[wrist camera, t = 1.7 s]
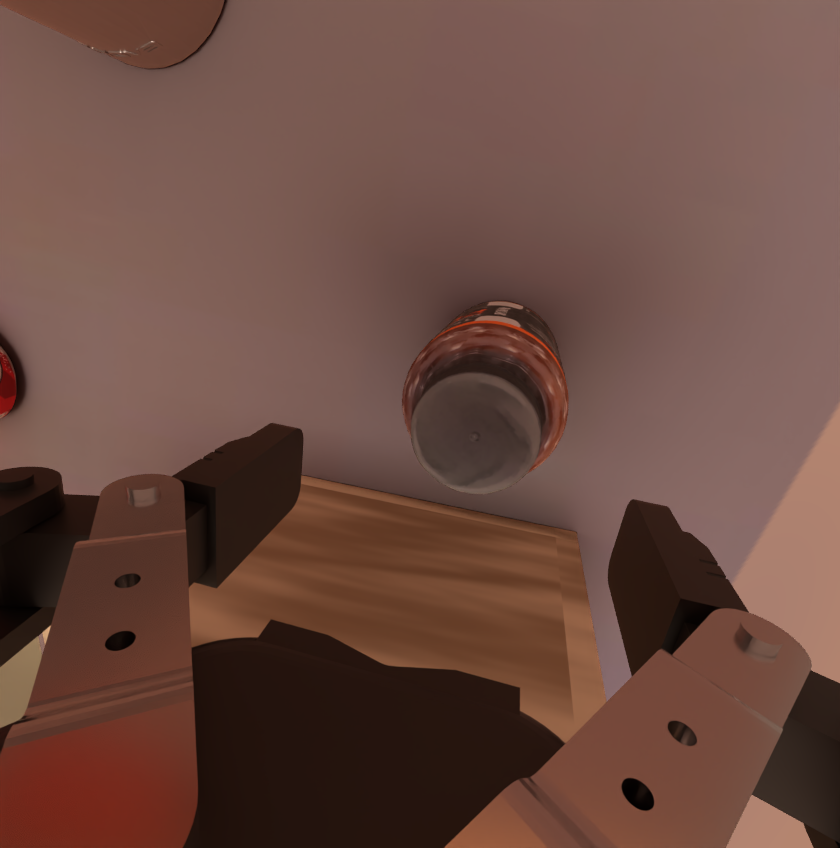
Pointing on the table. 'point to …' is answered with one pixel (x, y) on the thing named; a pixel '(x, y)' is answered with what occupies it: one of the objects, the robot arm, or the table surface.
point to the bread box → (422, 594)
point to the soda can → (6, 384)
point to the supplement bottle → (486, 398)
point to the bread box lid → (18, 682)
